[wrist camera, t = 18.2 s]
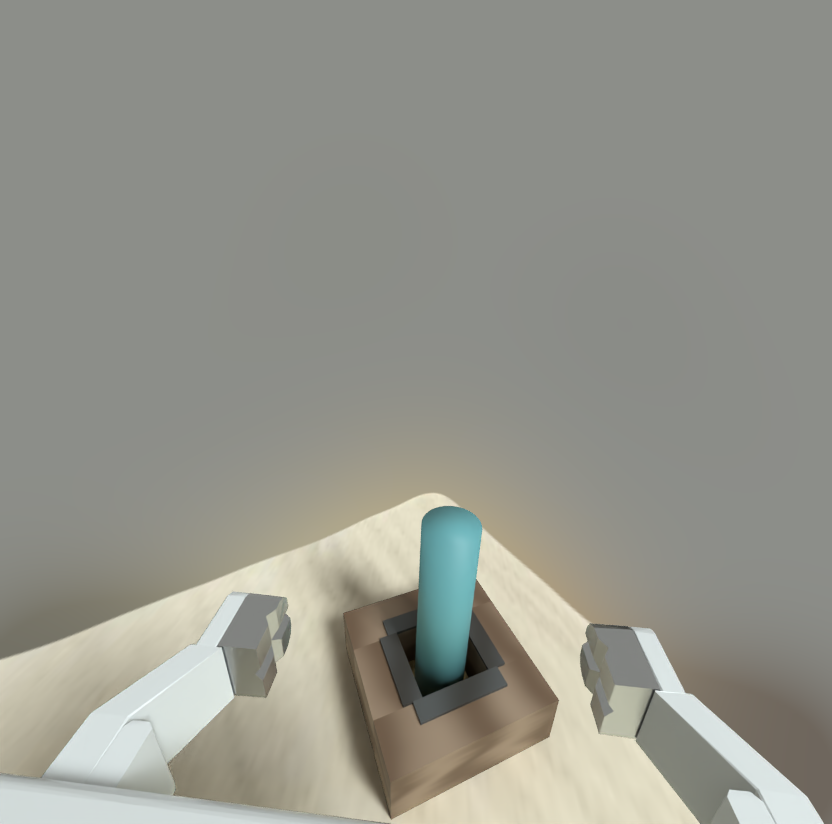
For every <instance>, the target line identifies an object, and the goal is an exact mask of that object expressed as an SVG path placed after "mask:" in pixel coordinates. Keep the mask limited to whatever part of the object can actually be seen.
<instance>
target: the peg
mask: <svg viewBox="0 0 832 824" xmlns="http://www.w3.org/2000/svg"><path fill="white" fill-rule="evenodd" d="M481 534H482V525H481V522H480V520H479V519H478V518H477V517H476V516H475V515H474V514H473V513H471V512H470V511H468V510H465V509H463V508H459V507H454V506H443V507H438V508H435V509H432V510H430V511H429V512H428V513H426V514H425V516H424V517H423V519H422V526H421V548H420V569H419V590H418V612H417V633H416V654H415V676H414V678H415V680H416V683H417V685H418V688H419V690H420V693H421V695H422V697H425V696H427V695H429V694H432V693H434V692H436V691H439V690H441V689H443V688H446V687H448V686H451V685H453V684H455V683H458V682H460V681H462V680H463V679H464V671H465V663H466V655H467V647H468V639H469V631H470V623H471V615H472V607H473V599H474V590H475V582H476V574H477V566H478V558H479V550H480V542H481Z"/></svg>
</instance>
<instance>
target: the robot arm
mask: <svg viewBox="0 0 832 824" xmlns="http://www.w3.org/2000/svg"><path fill="white" fill-rule="evenodd" d="M287 609H288V602H287V598H285V597H278V596H269V595H261V594H252V593H242V592H232V593H231V594H229V595H228V596H227V597H226V599H225V601H224V602H223V604H222V605H221V607H220V608H219V610H218V611H217V613H216V614H215V616H214V618H213V619H212V621H211V622H210V624H209V625H208V627H207V628H206V630H205V632H204V633H203V635H202V636H201V638H200V639H199V641H198V642H197V644H196V645H195V644H190V645H189V646H188V647H186V648H185V649H183V650H182V651H180V652H179V653H177V654H176V655H174V656H173V657H172V658H170V659H169V660H167V661H166V662H164V663H163V664H161V665H160V666H158V667H157V668H156V669H154V670H153V671H151V672H150V673H148V674H147V675H145V676H144V677H142V678H141V679H140V680H138V681H137V682H135V683H134V684H132V685H131V686H129V687H128V688H126V689H125V690H124V691H122V692H121V693H119V694H118V695H116V696H115V697H113V698H112V699H110V700H109V701H108V702H106V703H105V704H103V705H102V706H100V707H99V708H97V709H96V710H94V711H93V712H92V713H90V715H89V716H88V717H87V719H86V720H85V721H84V723H83V724H82V725H81V726H80V728H79V729H78V730H77V732H76V733H75V734H74V735H73V737H72V738H71V739H70V741H69V742H68V743H67V745H66V746H65V747H64V748H63V750H62V751H61V752H60V754H59V755H58V756H57V757H56V759H55V760H54V761H53V763H52V764H51V765H50V766H49V768H48V769H47V770H46V772H45V773H44V774H43V776H42V777H41V778H37V777H29V776H21V775H14V774H6V773H0V824H389V823H382V822H374V821H366V820H359V819H351V818H344V817H336V816H328V815H321V814H313V813H305V812H298V811H290V810H282V809H274V808H267V807H259V806H251V805H244V804H236V803H228V802H221V801H213V800H205V799H198V798H190V797H182V796H175V795H173V794H174V792H175V790H176V787H175V782H174V779H173V777H172V774H171V772H170V770H169V767H168V765H167V763H168V762H169V761H170V760H171V759H172V758H174V757H175V756H176V755H177V754H178V753H179V752H180V751H181V750H182V749H183V748H184V747H185V746H186V745H187V744H188V743H189V742H190V741H191V740H192V739H193V738H194V737H195V736H196V735H197V734H198V733H199V732H200V731H201V730H202V729H203V728H204V727H205V726H206V725H207V724H208V723H209V722H210V721H211V720H212V719H213V718H214V717H215V716H216V715H217V714H218V713H219V712H220V711H221V710H222V709H223V708H224V707H225V706H226V705H227V704H228V703H229V702H230V701H231V700H232V699H233V698H234V695H238V696H251V697H264V698H266V697H267V695H268V693H269V690H270V688H271V685H272V683H273V681H274V678H275V676H276V673H277V669H276V662H277V661H278V660H279V659H280V658H282V657H283V656H284V654H285V651H286V649H287V646H288V643H289V638H290V634H291V620H290V618H289V617H288V615H287V614H286V611H287ZM585 634H586V637H587V640H588V641H587V642H586V643H585V644H583V645H582V649H581V654H580V664H581V672H582V677H583V680H584V684H585V686H586V687H587V688H588V690H589V691H590V692H591V693H592V694H593V697H592V700H591V704H590V705H591V708H592V712H593V715H594V718H595V722H596V725H597V729H598V732H599V734H603V735H611V736H618V737H625V738H632V739H636V742H637V744H638V745H639V746H640V747H641V749H642V750H643V751H644V752H645V754H646V755H647V756H648V758H649V759H650V760H651V761H652V763H653V764H654V765H655V766H656V768H657V769H658V770H659V772H660V773H661V774H662V775H663V777H664V778H665V779H666V780H667V782H668V783H669V784H670V786H671V787H672V788H673V789H674V791H675V792H676V793H677V795H678V796H679V797H680V798H681V800H682V801H683V802H684V803H685V805H686V806H687V807H688V809H689V810H690V811H691V812H692V814H693V815H694V816H695V817H696V819H697V820H698V821H699V823H700V824H824V823H823V821H822V820H821V818H820V817H819V815H818V813H817V812H816V810H815V809H814V807H813V805H812V804H811V802H810V801H809V799H808V798H807V796H806V795H804V794H803V793H802V792H801V791H800V790H799V789H798V788H797V787H795V786H794V785H793V784H792V783H791V782H790V781H789V780H788V779H786V778H785V777H784V776H783V775H782V774H781V773H780V772H779V771H777V770H776V769H775V768H774V767H773V766H772V765H771V764H770V763H769V762H767V761H766V760H765V759H764V758H763V757H762V756H761V755H760V754H759V753H757V752H756V751H755V750H754V749H753V748H752V747H751V746H750V745H748V744H747V743H746V742H745V741H744V740H743V739H742V738H741V737H739V736H738V735H737V734H736V733H735V732H734V731H733V730H732V729H731V728H729V727H728V726H727V725H726V724H725V723H724V722H723V721H721V720H720V719H719V718H718V717H717V716H716V715H715V714H714V713H713V712H711V711H710V710H709V709H708V708H707V707H706V706H705V705H704V704H703V703H701V702H700V701H699V700H698V699H697V698H696V697H695V696H694V695H692V694H687V693H685V691H684V689H683V687H682V685H681V683H680V682H679V679H678V678H677V676H676V674H675V672H674V670H673V668H672V666H671V664H670V662H669V660H668V658H667V656H666V654H665V652H664V650H663V648H662V646H661V644H660V642H659V640H658V638H657V636H656V635H655V633H654V632H653V631H652V630H651V629H648V628H636V627H628V626H617V625H603V624H589V625H588V626H587V629H586V633H585Z"/></svg>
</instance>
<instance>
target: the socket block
mask: <svg viewBox="0 0 832 824" xmlns="http://www.w3.org/2000/svg"><path fill="white" fill-rule="evenodd" d="M418 590H419V589H417V590H414V591H411V592H408V593H405V594H402V595H398V596H395V597H392V598H389V599H386V600H383V601H380V602H377V603H373V604H370V605H367V606H364V607H361V608H358V609H355V610H352V611H349V612H345V613H343V615H344V626H345V638H346V648H347V652H348V656H349V660H350V664H351V667H352V671H353V675H354V679H355V683H356V687H357V690H358V694H359V698H360V702H361V706H362V709H363V713H364V717H365V721H366V725H367V729H368V732H369V736H370V740H371V744H372V748H373V751H374V755H375V759H376V763H377V767H378V770H379V774H380V778H381V782H382V786H383V790H384V793H385V797H386V801H387V805H388V809H389V812H390V816H391V819H393V818H395V817H397V816H399V815H401V814H402V813H404V812H406V811H408V810H410V809H412V808H414V807H416V806H418V805H420V804H422V803H423V802H425V801H427V800H429V799H431V798H433V797H435V796H437V795H439V794H441V793H443V792H445V791H446V790H448V789H450V788H452V787H454V786H456V785H458V784H460V783H462V782H464V781H466V780H468V779H469V778H471V777H473V776H475V775H477V774H479V773H481V772H483V771H485V770H487V769H489V768H490V767H492V766H494V765H496V764H498V763H500V762H502V761H504V760H506V759H508V758H510V757H512V756H513V755H515V754H517V753H519V752H521V751H523V750H525V749H527V748H529V747H531V746H533V745H535V744H536V743H538V742H540V741H542V740H544V739H546V738H548V737H549V736H550V732H551V728H552V724H553V721H554V717H555V713H556V709H557V705H558V701H559V700H558V698H557V697H556V695H555V694H554V692H553V691H552V690H551V688H550V687H549V685H548V684H547V682H546V681H545V679H544V678H543V676H542V675H541V673H540V672H539V670H538V669H537V667H536V666H535V665H534V663H533V662H532V660H531V659H530V657H529V656H528V654H527V653H526V651H525V650H524V648H523V647H522V645H521V644H520V643H519V641H518V640H517V638H516V637H515V635H514V634H513V632H512V631H511V629H510V628H509V626H508V625H507V623H506V622H505V620H504V619H503V618H502V616H501V615H500V613H499V612H498V610H497V609H496V607H495V606H494V604H493V603H492V601H491V600H490V598H489V597H488V596H487V594H486V593H485V591H484V590H483V588H482V587H481V585H480V584H479V582H478V581H477V579H476V582H475V590H474V599H473V607H472V615H471V623H470V631H469V639H468V647H467V655H466V663H465V672H466V673H467V675H468V677H469V678H467V679H465V680H462V681H460V682H458V683H455V684H453V685H451V686H448V687H446V688H443V689H441V690H439V691H436V692H434V693H432V694H429V695H427V696H425V697H422V695H421V693H420V690H419V688H418V685H417V683H416V680H415V678H414V675H413V673H412V670H411V667H410V665H409V662H410V661H412V660H415V654H416V633H417V612H418Z"/></svg>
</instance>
